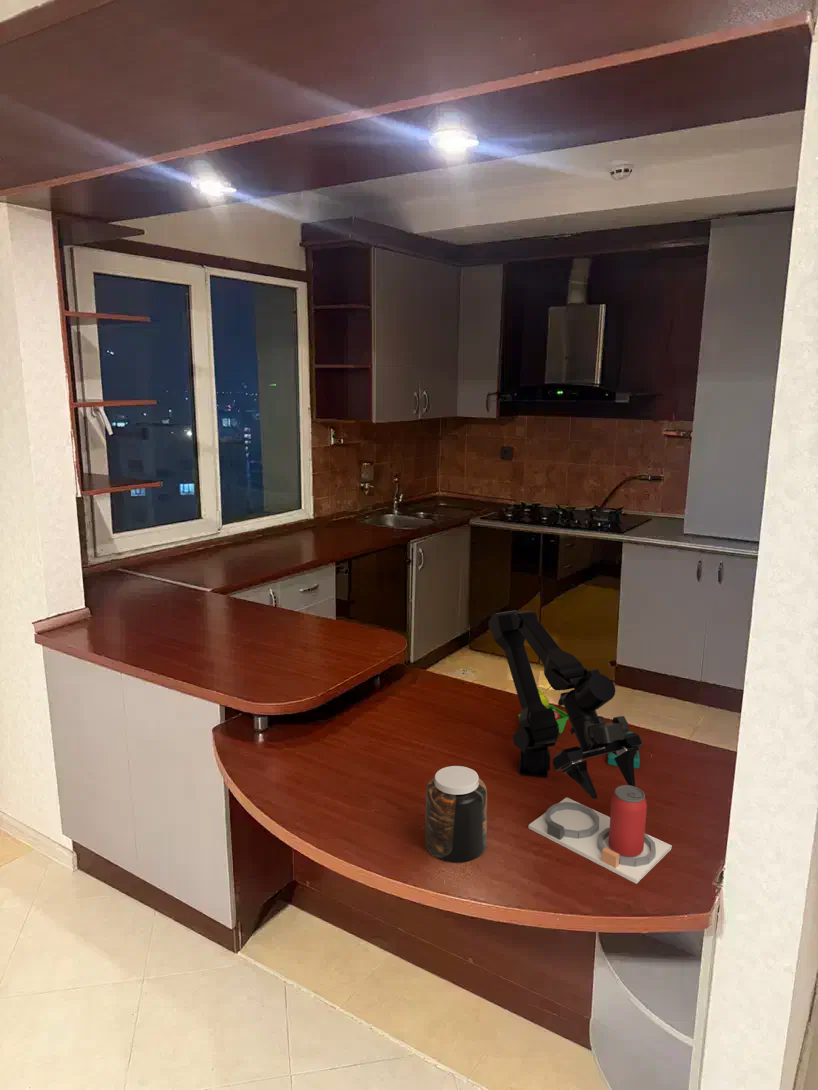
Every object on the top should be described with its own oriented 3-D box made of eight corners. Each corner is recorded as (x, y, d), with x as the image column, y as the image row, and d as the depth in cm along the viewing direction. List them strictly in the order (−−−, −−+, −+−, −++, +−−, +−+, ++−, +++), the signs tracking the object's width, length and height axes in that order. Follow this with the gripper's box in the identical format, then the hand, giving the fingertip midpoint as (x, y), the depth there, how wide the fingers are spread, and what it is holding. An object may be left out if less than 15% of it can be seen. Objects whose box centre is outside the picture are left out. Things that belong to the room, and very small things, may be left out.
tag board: (528, 828, 152) (529, 814, 151) (566, 800, 162) (567, 787, 161) (636, 883, 136) (637, 868, 135) (671, 849, 146) (672, 834, 145)
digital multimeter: (638, 741, 188) (638, 730, 188) (639, 771, 174) (640, 759, 174) (608, 737, 190) (608, 727, 190) (607, 766, 176) (607, 755, 176)
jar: (461, 872, 139) (462, 800, 136) (414, 846, 146) (414, 778, 143) (497, 842, 148) (499, 774, 144) (450, 819, 155) (451, 754, 152)
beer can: (638, 862, 140) (642, 806, 137) (603, 851, 144) (607, 796, 141) (647, 844, 146) (651, 789, 143) (614, 833, 149) (617, 779, 146)
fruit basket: (535, 745, 186) (536, 703, 183) (513, 730, 193) (514, 690, 191) (569, 733, 191) (571, 693, 189) (547, 720, 199) (548, 681, 196)
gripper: (563, 713, 143) (595, 793, 136) (640, 696, 151) (674, 772, 143) (539, 731, 152) (568, 808, 145) (613, 715, 160) (644, 787, 152)
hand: (614, 793), depth 146 cm, fingers open, 9 cm apart
